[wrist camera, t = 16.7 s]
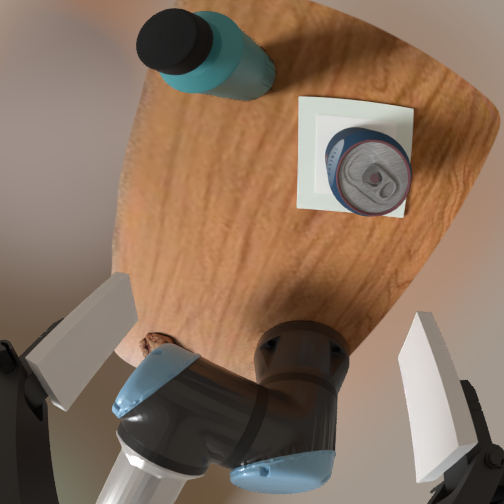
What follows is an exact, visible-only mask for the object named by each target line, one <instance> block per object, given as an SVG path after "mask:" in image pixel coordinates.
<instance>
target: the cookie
mask: <svg viewBox="0 0 504 504" xmlns="http://www.w3.org/2000/svg"><path fill="white" fill-rule="evenodd" d="M165 343H172V344H174V342H173V340H171V339H170V338H169V337H167V336H163V335H160V334H156V333H150V334H149V333H148V334H147V335H146V338H144V339H143V340H142V341H140V348H141V351H142V353H143V356H144V357H145V358H146V357H147V356H148V355H149V354H150V353H151V352H152V351H153V350H154V349H155V348H156V347H158V346H160V345H162V344H165Z"/></svg>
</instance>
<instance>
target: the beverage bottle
mask: <svg viewBox="0 0 504 504" xmlns="http://www.w3.org/2000/svg"><path fill="white" fill-rule="evenodd" d="M253 40H254V39H253ZM253 40H252V39H251V37H249V36H248V35H246V34H245V33H244V32H243V31H242V30H241V29H240V28H239V27H238V26H237V25H236V23H235V22H233V21H232V20H231V19H230V18H228V17H227V16H225V15H223V14H220V13H217V12H212V11H200V12H194V13H190V12H188V11H186V10H183V9H176V8H173V9H166V10H163V11H161V12H159V13H157V14H156V15H153V16H152V17H151V18H150V19H149V20H148V21H147V22H146V23H145V24H144V25H143V27H142V28H141V30H140V32H139V34H138V37H137V42H136V50H137V54H138V56H139V58H140V60H141V61H142V62H143V63H144V64H145V65H146V66H147V67H149V68H151V69H154V70H157V71H159V72H160V74H161V76H162V78H163V79H164V81H165V82H166V83H167V84H168V85H170V86H171V87H173V88H174V89H176V90H179V91H182V92H185V93H200V94H206V95H207V94H208V95H214V96H217V97H224V98H232V99H234V100H235V101H236V100H237V99H238V100H244V101H245V100H247V101H248V100H253V99H255V100H256V99H257V98H259V97H261V96H263V95H264V94H265V93H266V92H268V90H269V89H271V86H272V85H273V84H274V80H275V67H274V61H272V60H271V58H270V57H269V56H268V55H267V54H266V53H265V52H264V51H265V50H264V49H263V48H262V47H261V48H262V49H261V48H260V47H259V46H258V45H259V43H258V45H257V44H256V43H255V42H257V41H255V42H254V41H253ZM263 50H264V51H263ZM276 73H277V72H276ZM211 97H212V96H211ZM227 100H228V99H227ZM238 100H237V101H238ZM248 102H249V101H248Z"/></svg>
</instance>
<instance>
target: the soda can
mask: <svg viewBox="0 0 504 504" xmlns="http://www.w3.org/2000/svg"><path fill="white" fill-rule="evenodd" d="M325 163H326V169H327V175H328V182H329V185H330V188H331V191H332V193H333V195H334V196H335V198H336V199H337V200H338V202H339V203H340V204H341V205H342V206H344V207H345V208H346V209H348V210H349V211H351V212H353V213H355V214H358V215H362V216H382V215H386V214H388V213H391V212H392V211H394V210H396V209H397V208H398V207H399V206H400V205H401V204H402V203H403V202H404V200H405V199H406V197H407V195H408V193H409V190H410V186H411V180H412V169H411V164H410V161H409V158H408V156H407V154H406V152H405V150H404V149H403V147H402V146H401V145H400V144H399V143H398V142H397V141H396V140H395V139H393V138H392V137H390V136H388V135H386V134H384V133H381V132H378V131H374V130H369V129H365V128H361V127H350V128H346V129H343V130H341V131H339V132H338V133H336V134H335V135H334V136H333V137H332V138H331V140H330V141H329V143H328V145H327V148H326V152H325Z"/></svg>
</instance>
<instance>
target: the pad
mask: <svg viewBox="0 0 504 504" xmlns="http://www.w3.org/2000/svg"><path fill="white" fill-rule="evenodd" d="M413 113H414V109H411V108H406V107H400V106H394V105H388V104H381V103H374V102H366V101H357V100H348V99H337V98H323V97H303V96H299V140H298V184H297V208H303V209H316V210H329V211H340V212H351V211H349V210H348V209H346V208H345V207H344V206H342V205H341V204H340V203H339V202H338V200H337V199H336V198H335V196H334V195H333V193H332V191H331V188H330V185H329V182H328V175H327V169H326V163H325V152H326V148H327V145H328V143H329V141H330V140H331V138H332V137H333V136H334V135H335V134H336V133H338V132H339V131H341V130H343V129H346V128H350V127H361V128H365V129H369V130H374V131H378V132H381V133H384V134H386V135H388V136H390V137H392V138H393V139H395V140H396V141H397V142H398V143H399V144H400V145H401V146H402V147H403V149H404V150H405V152H406V154H407V156H408V158H409V161H411V150H412V135H413ZM405 203H406V199H405V200H404V202H403V203H402V204H401V205H400V206H399V207H398V208H397V209H396V210H394V211H392V212H391V213H388V214H386V215H382V216H391V217H399V218H403V216H404V210H405ZM351 213H353V212H351Z"/></svg>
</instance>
